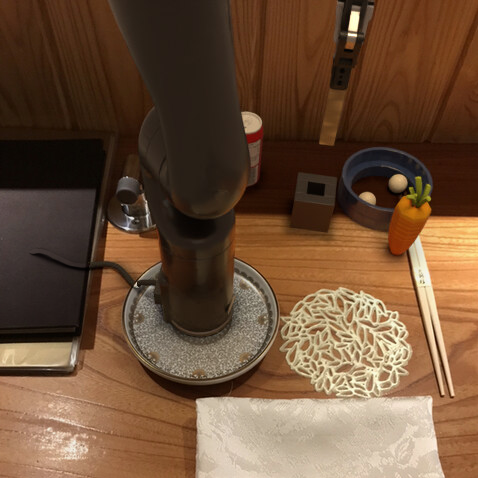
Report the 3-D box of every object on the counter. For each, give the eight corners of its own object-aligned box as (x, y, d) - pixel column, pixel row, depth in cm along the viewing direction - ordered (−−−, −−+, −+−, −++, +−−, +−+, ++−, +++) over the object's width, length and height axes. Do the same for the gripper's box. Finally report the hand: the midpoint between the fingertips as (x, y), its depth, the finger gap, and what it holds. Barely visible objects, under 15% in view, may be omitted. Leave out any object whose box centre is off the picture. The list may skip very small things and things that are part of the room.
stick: (319, 144, 77) (337, 47, 65) (320, 134, 78) (338, 37, 66) (333, 146, 77) (354, 49, 65) (334, 136, 78) (355, 39, 66)
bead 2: (386, 195, 93) (391, 182, 90) (386, 182, 95) (391, 169, 92) (404, 198, 93) (409, 184, 90) (404, 185, 94) (409, 171, 92)
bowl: (333, 228, 90) (339, 204, 85) (339, 167, 97) (345, 141, 93) (422, 241, 89) (433, 217, 84) (421, 178, 97) (431, 153, 92)
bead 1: (354, 213, 91) (358, 200, 88) (355, 200, 92) (359, 186, 90) (373, 216, 91) (377, 202, 88) (373, 202, 92) (378, 189, 90)
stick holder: (289, 231, 89) (294, 200, 83) (293, 204, 92) (298, 172, 87) (326, 236, 89) (334, 205, 83) (329, 209, 92) (337, 177, 86)
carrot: (409, 270, 86) (442, 200, 73) (377, 264, 86) (404, 194, 74) (411, 245, 89) (443, 174, 76) (379, 240, 89) (406, 168, 76)
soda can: (242, 163, 97) (245, 104, 87) (265, 179, 95) (271, 121, 85) (220, 179, 95) (220, 120, 85) (243, 196, 93) (246, 138, 83)
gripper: (337, -111, 59) (313, 46, 73) (327, -46, 51) (303, 113, 66) (409, -103, 58) (370, 53, 73) (410, -37, 51) (366, 122, 66)
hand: (338, 81), depth 69 cm, fingers closed on stick, 2 cm apart
